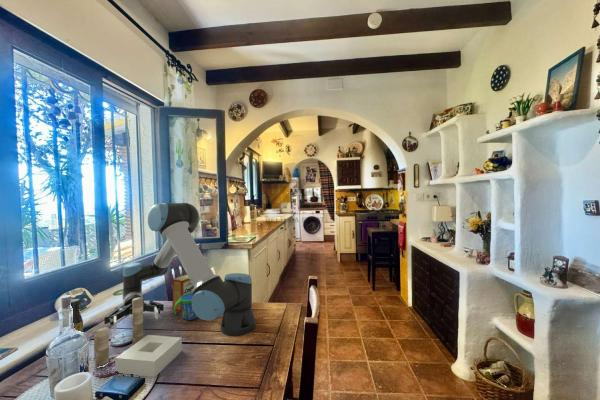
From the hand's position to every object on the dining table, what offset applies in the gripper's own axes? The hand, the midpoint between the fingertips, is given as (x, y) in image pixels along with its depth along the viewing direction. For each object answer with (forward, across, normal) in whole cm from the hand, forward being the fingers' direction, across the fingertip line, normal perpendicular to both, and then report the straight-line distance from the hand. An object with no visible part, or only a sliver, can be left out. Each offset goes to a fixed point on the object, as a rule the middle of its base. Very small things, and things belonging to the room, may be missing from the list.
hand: (137, 320), depth 96 cm
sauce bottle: (-7, +20, -10) cm, 23 cm away
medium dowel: (+6, +10, -10) cm, 15 cm away
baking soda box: (-27, -23, -10) cm, 37 cm away
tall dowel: (0, 0, -10) cm, 10 cm away
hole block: (+14, -3, -10) cm, 17 cm away
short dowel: (0, +11, -10) cm, 15 cm away
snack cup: (-13, -23, -10) cm, 28 cm away
